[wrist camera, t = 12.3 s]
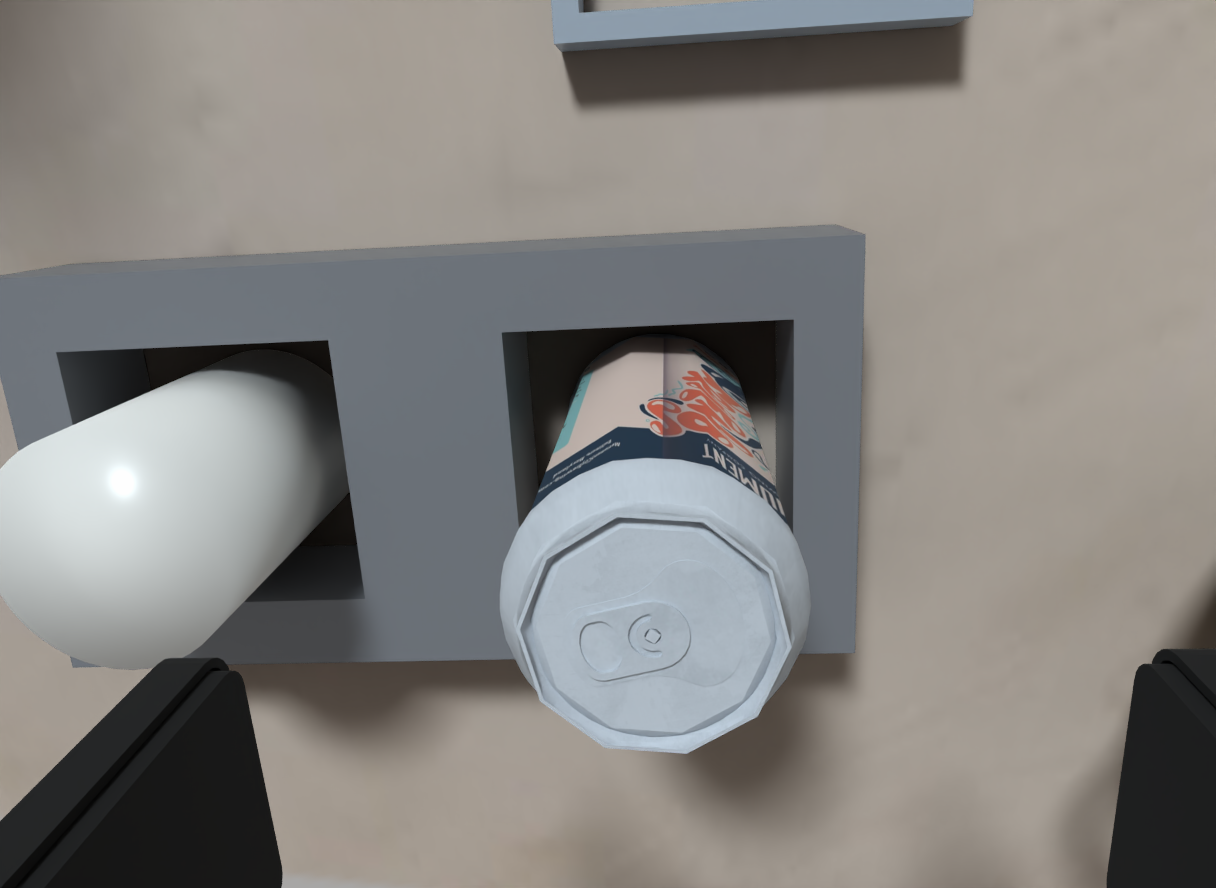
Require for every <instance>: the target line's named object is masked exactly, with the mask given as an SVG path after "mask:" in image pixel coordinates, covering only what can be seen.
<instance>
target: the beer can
mask: <svg viewBox="0 0 1216 888" xmlns="http://www.w3.org/2000/svg"><path fill="white" fill-rule="evenodd" d="M810 609H811V600H810V591H809V582H808V573H807V570H806V567H805V564H804V561H803V558H802V555H801V552H800V549H799V546H798V544H797V541H796V539H795V538H794V536H793V534H792V532H791V530H790V528H789V526H788V523H787V520H786V517H785V514H784V511H783V508H782V505H781V502H780V500H779V497H778V494H777V491H776V488H775V485H774V482H773V479H772V476H771V474H770V471H769V468H768V465H767V462H766V459H765V456H764V453H763V450H762V447H761V445H760V442H759V439H758V436H757V433H756V430H755V427H754V424H753V421H752V419H751V416H750V413H749V410H748V407H747V401H746V398H745V395H744V392H743V390H742V387H741V384H740V381H739V379H738V377H737V375H736V374H735V373H734V371H733V370H732V369H731V368H730V367H729V365H728V364H727V363H726V362H725V361H724V360H723V359H722V358H721V357H720V356H718V355H717V354H715V353H714V352H713V351H711V350H710V349H708V348H707V347H706V346H704V345H703V344H700V343H698V342H696V341H694V340H692V339H689V338H685V337H680V336H676V335H672V334H646V335H641V336H635V337H632V338H629V339H626V340H623V341H621V342H618V343H617V344H615V345H613V346H612V347H610V348H608V349H607V350H605V351H603V352H602V353H601V354H600V355H599V356H598V357H597V358H595V359H594V360H593V361H592V362H591V363H590V364H589V365H588V366H587V367H586V368H585V370H584V371H583V373H582V374H581V376H580V377H579V380H578V382H577V384H576V387H575V389H574V391H573V394H572V396H571V398H570V404H569V410H568V415H567V418H566V421H565V423H564V426H563V428H562V431H561V434H560V436H559V439H558V441H557V444H556V446H555V449H554V452H553V454H552V457H551V459H550V462H549V465H548V467H547V470H546V472H545V475H544V477H543V480H542V483H541V485H540V488H539V490H538V493H537V496H536V498H535V501H534V503H533V506H532V508H531V511H530V513H529V514H528V516H527V517H526V519H525V520H524V522H523V523H522V525H521V526H520V528H519V529H518V531H517V534H516V536H515V538H514V540H513V543H512V545H511V547H510V550H509V552H508V554H507V557H506V559H505V561H504V564H503V570H502V575H501V588H500V615H501V619H502V624H503V629H504V633H505V638H506V641H507V643H508V645H509V647H510V649H511V651H512V653H513V656H514V658H515V660H516V662H517V664H518V666H519V668H520V670H521V672H522V673H523V675H524V676H525V678H526V679H527V681H528V682H529V683H530V685H531V686H532V687H533V688H534V689H535V690H536V692H537V693H538V696H539V699H540V702H542V703H543V704H545V705H546V706H547V707H549V708H550V709H552V710H553V711H554V712H556V713H557V714H558V715H560V716H561V717H563V718H564V719H565V720H567V721H568V722H570V723H571V724H572V725H574V726H575V727H577V728H578V729H579V730H581V731H582V732H584V733H585V734H586V735H588V736H589V737H591V738H592V739H593V740H595V741H596V742H597V743H599V744H600V745H602V746H603V747H604V748H614V749H628V750H642V751H656V752H670V753H684V754H687V753H689V752H691V751H693V750H695V749H697V748H699V747H700V746H702V745H704V744H706V743H708V742H710V741H712V740H714V739H716V738H718V737H720V736H721V735H723V734H725V733H727V732H729V731H731V730H733V729H735V728H737V727H739V726H740V725H742V724H744V723H746V722H748V721H750V720H752V719H754V718H756V717H758V715H759V713H760V711H761V709H762V707H763V705H764V704H765V703H766V702H767V701H768V700H769V699H770V698H771V697H772V696H773V695H774V693H775V692H776V691H777V690H778V688H779V687H780V686H781V685H782V684H783V682H784V681H785V680H786V679H787V677H788V675H789V673H790V671H791V669H792V667H793V665H794V663H795V661H796V659H797V657H798V655H799V653H800V651H801V649H802V647H803V644H804V642H805V639H806V634H807V628H808V621H809V615H810Z"/></svg>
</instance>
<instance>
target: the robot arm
mask: <svg viewBox="0 0 1216 888" xmlns="http://www.w3.org/2000/svg"><path fill="white" fill-rule="evenodd" d="M281 886H282V865H281V860H280V855H279V851H278V846H277V841H276V836H275V831H274V826H273V821H272V817H271V812H270V807H269V802H268V797H267V792H266V787H265V783H264V778H263V773H262V768H261V763H260V758H259V753H258V749H257V744H256V739H255V734H254V729H253V724H252V719H251V714H250V710H249V705H248V700H247V695H246V690H245V685H244V682H243V679H242V677H241V675H240V674H239V673H238V672H236V671H229V668H228V666H227V664H226V663H225V662H224V660H222V659H220V658H218V657H216V658H167V659H164V660H163V661H161V662H160V663H158V664H157V665H156V666H155V667H154V668H153V669H152V670H151V671H150V672H149V673H148V674H147V675H146V676H145V677H144V678H143V679H142V680H141V681H140V682H139V683H138V684H137V685H136V686H135V687H134V688H133V689H132V690H131V691H130V692H129V693H128V694H127V695H126V696H125V697H124V698H123V699H122V700H121V701H120V702H119V703H118V704H117V705H116V706H115V707H114V708H113V709H112V710H111V711H110V712H109V713H108V714H107V715H106V716H105V717H104V718H103V719H102V720H101V721H100V722H99V723H98V724H97V725H96V726H95V727H94V728H93V729H92V730H91V731H90V732H89V733H88V734H87V735H86V736H85V737H84V738H83V739H82V740H81V741H80V742H79V743H78V744H77V745H76V746H75V747H74V748H73V749H72V750H71V751H70V752H69V753H68V754H67V755H66V756H65V757H64V758H63V759H62V760H61V761H60V762H59V763H58V764H57V765H56V766H55V767H54V768H53V769H52V770H51V771H50V772H49V773H48V774H47V775H46V776H45V777H44V778H43V779H42V780H41V781H40V782H39V783H38V784H37V785H36V786H35V787H34V788H33V789H32V790H31V791H30V792H29V793H28V794H27V795H26V796H25V797H24V798H23V799H22V800H21V801H20V802H19V803H18V804H17V805H16V806H15V807H14V808H13V809H12V810H11V811H10V812H9V813H8V814H7V815H6V816H5V817H4V818H3V819H2V820H1V821H0V888H281ZM1107 888H1216V649H1162V650H1161V651H1159V652H1157V654H1156V655H1155V657H1154V659H1153V661H1152V664H1143V665H1141V666H1139V668H1138V670H1137V671H1136V675H1135V679H1134V686H1133V693H1132V700H1131V707H1130V714H1129V721H1128V729H1127V736H1126V743H1125V750H1124V757H1123V764H1122V772H1121V779H1120V786H1119V793H1118V800H1117V807H1116V815H1115V822H1114V829H1113V836H1112V843H1111V850H1110V858H1109V865H1108V872H1107Z"/></svg>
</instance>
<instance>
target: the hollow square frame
mask: <svg viewBox="0 0 1216 888" xmlns="http://www.w3.org/2000/svg"><path fill="white" fill-rule="evenodd" d="M973 1H974V0H758V1H743V2H729V3H714V4H700V5H685V6H671V7H657V8H642V9H628V10H613V11H599V12H584V6H583V0H551V5H552V20H553V35H554V44H555V45H556V46H557V48H558V49H559V50H560V51H561V52H564V51H580V50H595V49H610V48H625V47H640V46H655V45H670V44H685V43H700V42H715V41H730V40H745V39H760V38H775V37H791V36H806V35H821V34H836V33H851V32H866V31H881V30H896V29H911V28H926V27H941V26H953V25H955V24H957V23H959V22H961V21H963V20H965V19H967V18H969V17H971V16H973Z"/></svg>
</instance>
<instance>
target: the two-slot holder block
mask: <svg viewBox="0 0 1216 888" xmlns="http://www.w3.org/2000/svg"><path fill="white" fill-rule="evenodd" d="M864 273H865V234H862V233H860V232H857V231H854V230H851V229H848V228H845V227H842V226H839V225H818V226H798V227H779V228H760V229H740V230H721V231H702V232H682V233H663V234H643V235H624V236H605V237H585V238H566V239H547V240H527V241H508V242H489V243H469V244H450V245H430V246H411V247H392V248H372V249H353V250H334V251H314V252H295V253H276V254H256V255H237V256H217V257H198V258H179V259H159V260H140V261H121V262H101V263H82V264H68V265H62V266H56V267H50V268H44V269H38V270H32V271H26V272H20V273H14V274H7V275H1V276H0V377H1V381H2V385H3V389H4V393H5V397H6V401H7V405H8V409H9V413H10V417H11V421H12V425H13V429H14V433H15V437H16V441H17V445H18V449H19V451H18V452H17V453H16V454H15V455H14V456H13V457H11V458H10V459H9V460H8V461H7V462H6V463H5V464H4V466H3V467H2V468H1V469H0V595H1V596H2V598H3V599H4V601H5V603H6V604H7V605H8V606H9V608H10V609H11V610H12V612H13V613H14V614H15V615H16V616H17V617H18V619H19V620H20V621H21V622H22V623H23V624H24V625H25V626H26V627H27V628H28V629H30V630H31V631H32V632H33V633H34V634H36V635H37V636H38V637H39V638H41V639H42V640H43V641H45V642H46V643H48V644H49V645H51V646H52V647H54V648H56V649H57V650H59V651H61V652H63V653H65V654H67V655H69V656H70V658H71V662H72V666H73V667H107V668H113V669H126V670H137V669H149V668H154V667H155V666H156V665H157V664H158V663H160V662H161V661H163V660H164V659H167V658H216V657H218V658H220V659H222V660H224V662H225V663H226V664H227V665H232V664H286V663H340V662H393V661H447V660H500V659H515V658H514V656H513V653H512V651H511V649H510V647H509V645H508V643H507V641H506V638H505V633H504V629H503V624H502V619H501V615H500V588H501V575H502V570H503V564H504V561H505V559H506V557H507V554H508V552H509V550H510V547H511V545H512V543H513V540H514V538H515V536H516V534H517V531H518V529H519V528H520V526H521V525H522V523H523V522H524V520H525V519H526V517H527V516H528V514H529V513H530V511H531V508H532V506H533V503H534V501H535V498H536V496H537V493H538V490H539V486H538V474H537V461H536V449H535V437H534V424H533V412H532V399H531V387H530V375H529V362H528V350H527V337H526V331H546V330H568V329H591V328H613V327H635V326H658V325H680V324H703V323H725V322H748V321H770V320H776V491H777V494H778V497H779V500H780V502H781V505H782V508H783V511H784V514H785V517H786V520H787V523H788V526H789V528H790V530H791V532H792V534H793V536H794V538H795V539H796V541H797V544H798V546H799V549H800V552H801V555H802V558H803V561H804V564H805V567H806V570H807V573H808V582H809V591H810V600H811V609H810V615H809V621H808V628H807V634H806V639H805V642H804V644H803V647H802V649H801V651H800V653H799V654H822V653H855V628H856V589H857V549H858V510H859V470H860V431H861V392H862V352H863V313H864ZM321 340H328V343H329V350H330V357H331V364H332V371H333V378H334V379H333V378H332V377H331V376H330V375H329V374H328V373H327V372H325V371H324V370H322V369H321V368H320V367H318V366H317V365H315V364H313V363H312V362H310V361H308V360H306V359H304V358H302V357H299V356H297V355H294V354H291V353H287V352H284V351H277V350H264V349H259V350H250V351H245V352H241V353H237V354H235V355H232V356H230V357H228V358H225V359H223V360H221V361H218V362H216V363H214V364H212V365H209V366H207V367H205V368H202V369H200V370H198V371H196V372H193V373H191V374H189V375H186V376H184V377H182V378H180V379H177V380H175V381H173V382H170V383H168V384H166V385H164V386H161V387H159V388H157V389H154V390H152V391H151V387H150V382H149V377H148V373H147V368H146V363H145V358H144V353H143V348H163V347H186V346H208V345H231V344H253V343H276V342H298V341H321ZM349 491H350V497H351V504H352V511H353V518H354V525H355V532H356V539H357V545H341V546H306V547H297V546H298V545H299V544H300V543H301V542H302V541H303V540H304V539H305V538H306V537H307V536H308V535H309V534H310V533H311V532H312V531H313V530H314V529H315V528H316V526H317V525H318V524H319V523H320V522H321V521H322V520H323V519H324V518H325V517H326V516H327V515H328V514H329V513H330V512H331V511H332V510H333V509H334V508H335V507H336V506H337V505H338V504H339V503H340V502H341V501H342V500H343V499H344V497H345V496H346V495H347V494H348V492H349Z"/></svg>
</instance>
